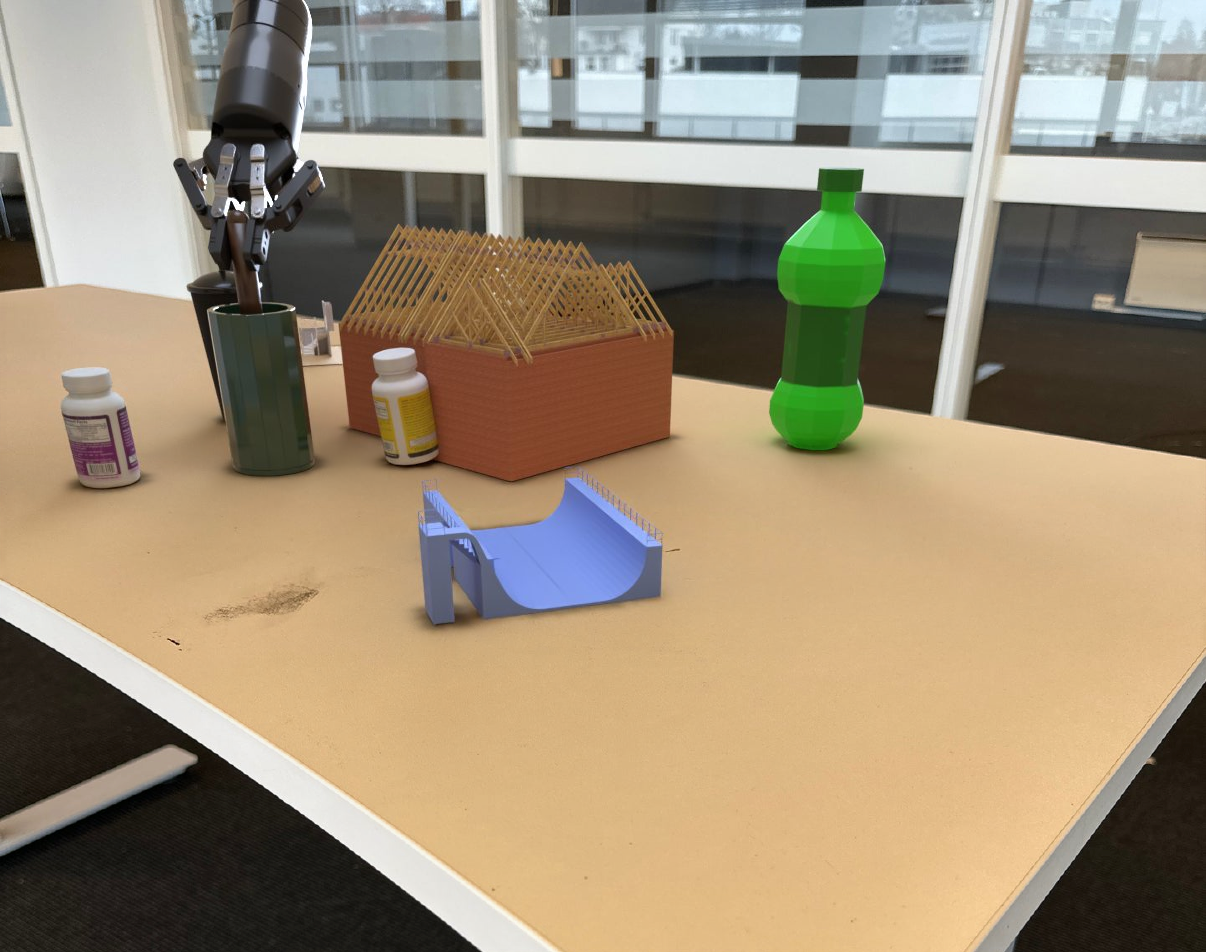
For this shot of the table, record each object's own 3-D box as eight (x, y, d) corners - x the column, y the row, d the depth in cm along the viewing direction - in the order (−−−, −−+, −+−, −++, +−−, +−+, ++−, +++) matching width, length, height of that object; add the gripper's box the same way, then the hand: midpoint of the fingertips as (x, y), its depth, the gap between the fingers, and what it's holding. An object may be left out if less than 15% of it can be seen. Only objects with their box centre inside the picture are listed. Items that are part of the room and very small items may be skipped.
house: (673, 437, 118) (681, 234, 108) (514, 482, 103) (506, 252, 93) (492, 397, 134) (484, 216, 124) (332, 431, 119) (308, 229, 109)
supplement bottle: (447, 446, 111) (430, 344, 105) (430, 466, 107) (411, 360, 101) (396, 447, 112) (376, 346, 107) (377, 467, 108) (356, 362, 102)
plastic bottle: (752, 432, 120) (773, 166, 107) (848, 431, 121) (880, 166, 108) (774, 457, 112) (799, 171, 99) (876, 455, 113) (914, 171, 100)
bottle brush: (237, 447, 106) (198, 210, 95) (266, 437, 109) (233, 206, 99) (274, 453, 105) (239, 212, 94) (303, 442, 108) (273, 208, 97)
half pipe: (660, 598, 80) (664, 498, 76) (433, 628, 75) (425, 522, 71) (578, 523, 94) (578, 436, 90) (383, 544, 89) (374, 453, 85)
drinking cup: (269, 407, 128) (240, 211, 118) (289, 421, 123) (262, 217, 112) (201, 415, 125) (166, 214, 115) (220, 429, 120) (184, 219, 109)
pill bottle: (113, 470, 106) (89, 363, 101) (153, 478, 104) (131, 368, 99) (66, 484, 102) (38, 373, 97) (107, 492, 100) (81, 379, 95)
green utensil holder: (216, 470, 106) (188, 311, 99) (267, 451, 112) (245, 300, 105) (281, 480, 104) (257, 317, 96) (330, 460, 110) (311, 305, 102)
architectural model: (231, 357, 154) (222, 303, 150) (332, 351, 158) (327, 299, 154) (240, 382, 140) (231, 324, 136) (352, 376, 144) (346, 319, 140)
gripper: (169, 62, 97) (139, 232, 94) (324, 63, 97) (300, 235, 93) (203, 132, 105) (176, 292, 101) (347, 134, 104) (326, 295, 100)
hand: (236, 264), depth 97 cm, fingers closed on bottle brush, 2 cm apart
